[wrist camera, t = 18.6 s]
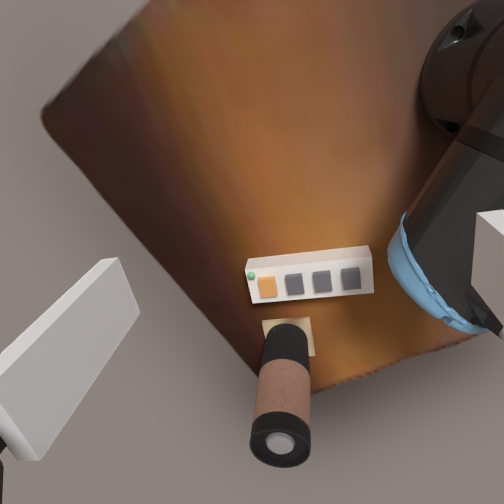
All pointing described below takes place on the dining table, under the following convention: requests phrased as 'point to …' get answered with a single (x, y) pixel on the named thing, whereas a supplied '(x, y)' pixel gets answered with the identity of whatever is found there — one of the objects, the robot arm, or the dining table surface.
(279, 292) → the socket strip
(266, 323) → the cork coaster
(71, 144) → the dining table surface
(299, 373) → the travel mug
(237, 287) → the dining table surface
